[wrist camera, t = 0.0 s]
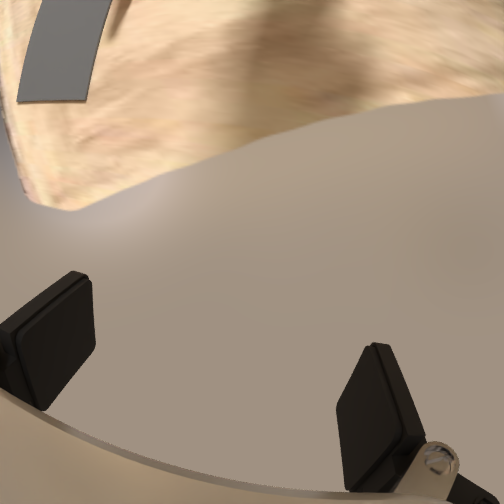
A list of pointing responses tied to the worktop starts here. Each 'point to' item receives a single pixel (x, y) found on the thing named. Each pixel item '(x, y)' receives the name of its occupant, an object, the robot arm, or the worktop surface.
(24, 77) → the mat
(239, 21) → the worktop surface
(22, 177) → the worktop surface
